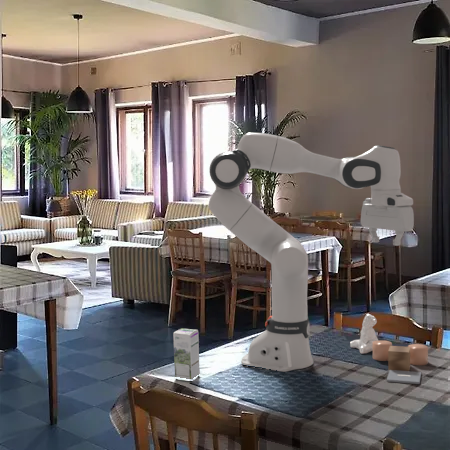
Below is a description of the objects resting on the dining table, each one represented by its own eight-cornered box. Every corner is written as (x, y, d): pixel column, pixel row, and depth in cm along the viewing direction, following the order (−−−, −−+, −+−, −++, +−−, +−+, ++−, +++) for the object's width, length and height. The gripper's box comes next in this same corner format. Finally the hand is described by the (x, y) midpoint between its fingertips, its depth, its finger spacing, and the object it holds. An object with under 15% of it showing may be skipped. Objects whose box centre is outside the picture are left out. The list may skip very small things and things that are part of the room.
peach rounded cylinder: (407, 364, 209) (407, 348, 208) (408, 359, 214) (408, 343, 214) (427, 366, 207) (427, 350, 206) (428, 360, 212) (428, 344, 212)
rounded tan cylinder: (371, 360, 214) (371, 344, 214) (373, 354, 220) (373, 339, 219) (391, 361, 212) (391, 346, 212) (392, 356, 218) (392, 340, 217)
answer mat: (386, 381, 194) (386, 379, 194) (389, 371, 202) (389, 369, 202) (419, 384, 191) (419, 381, 191) (421, 374, 199) (421, 371, 199)
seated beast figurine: (348, 346, 230) (348, 311, 229) (371, 344, 232) (371, 309, 231) (361, 354, 221) (361, 318, 219) (385, 351, 223) (385, 315, 222)
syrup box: (200, 376, 202) (199, 329, 201) (191, 382, 197) (189, 333, 196) (183, 374, 205) (182, 327, 203) (174, 380, 199) (172, 332, 198)
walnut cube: (388, 370, 204) (388, 351, 203) (390, 364, 209) (390, 345, 209) (409, 372, 202) (409, 352, 201) (410, 366, 207) (410, 346, 207)
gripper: (355, 198, 215) (356, 241, 217) (401, 200, 197) (401, 248, 199) (371, 197, 218) (371, 239, 220) (417, 199, 200) (417, 246, 202)
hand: (386, 243), depth 209 cm, fingers open, 8 cm apart
